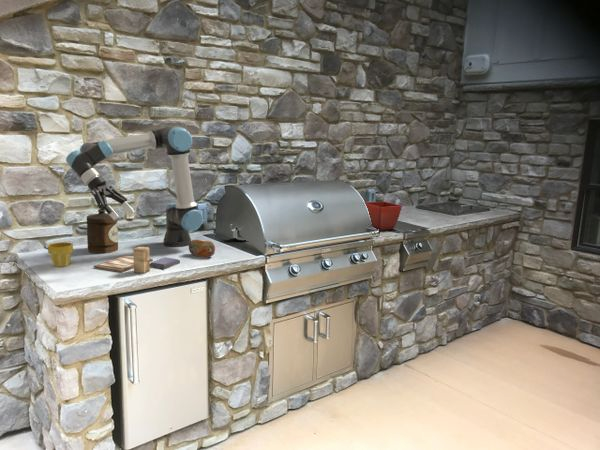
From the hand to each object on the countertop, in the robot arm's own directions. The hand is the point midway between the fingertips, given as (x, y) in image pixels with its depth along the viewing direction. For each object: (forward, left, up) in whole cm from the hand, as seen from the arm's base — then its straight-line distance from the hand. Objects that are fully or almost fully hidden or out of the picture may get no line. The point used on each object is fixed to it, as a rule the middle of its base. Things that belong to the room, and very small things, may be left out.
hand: (124, 216), depth 223 cm
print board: (-3, -4, -24) cm, 25 cm away
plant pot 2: (-152, +88, -24) cm, 177 cm away
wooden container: (-19, -31, -25) cm, 44 cm away
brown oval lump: (-33, +20, -25) cm, 46 cm away
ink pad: (-11, +13, -24) cm, 30 cm away
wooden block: (+3, +11, -24) cm, 27 cm away
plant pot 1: (+11, -28, -24) cm, 39 cm away
